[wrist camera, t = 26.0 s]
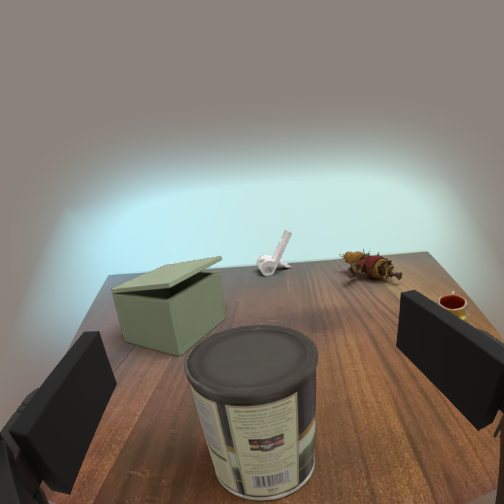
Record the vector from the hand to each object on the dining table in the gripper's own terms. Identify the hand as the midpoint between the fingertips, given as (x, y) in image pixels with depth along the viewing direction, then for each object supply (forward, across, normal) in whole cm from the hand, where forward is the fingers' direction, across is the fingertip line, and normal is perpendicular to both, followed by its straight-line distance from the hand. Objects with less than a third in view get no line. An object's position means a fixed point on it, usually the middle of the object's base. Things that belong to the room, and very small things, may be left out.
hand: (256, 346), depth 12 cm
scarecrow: (+61, +34, -20) cm, 73 cm away
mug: (+27, +35, -21) cm, 49 cm away
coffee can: (+10, 0, -20) cm, 23 cm away
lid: (+44, -13, -9) cm, 47 cm away
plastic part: (+77, +12, -20) cm, 80 cm away
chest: (+45, -13, -20) cm, 51 cm away
